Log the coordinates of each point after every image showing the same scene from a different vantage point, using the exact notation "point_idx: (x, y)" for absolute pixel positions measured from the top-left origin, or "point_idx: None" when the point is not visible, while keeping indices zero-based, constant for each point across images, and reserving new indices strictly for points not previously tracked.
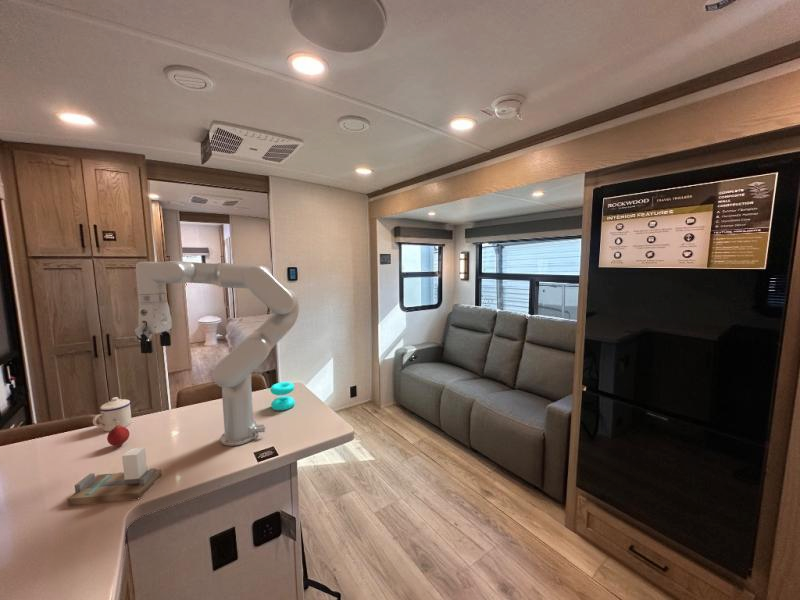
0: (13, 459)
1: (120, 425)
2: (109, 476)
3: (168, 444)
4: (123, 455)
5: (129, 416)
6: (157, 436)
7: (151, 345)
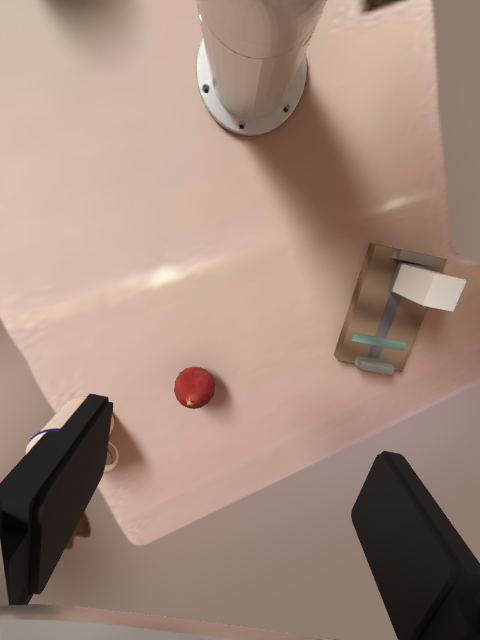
0: (191, 515)
1: None
2: (357, 335)
3: (225, 273)
4: (452, 309)
5: (76, 408)
6: (172, 312)
7: (442, 514)
